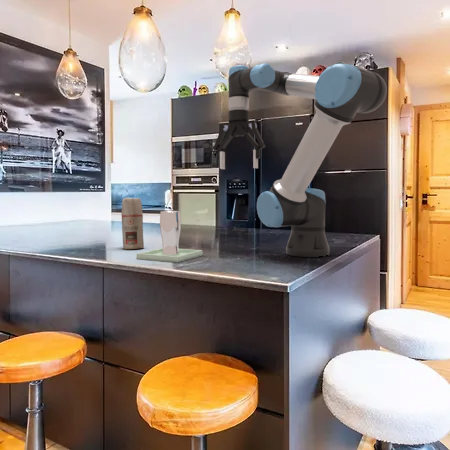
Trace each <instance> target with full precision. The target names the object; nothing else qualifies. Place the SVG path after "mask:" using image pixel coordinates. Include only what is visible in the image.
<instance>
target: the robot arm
mask: <svg viewBox="0 0 450 450" xmlns="http://www.w3.org/2000/svg"><path fill="white" fill-rule="evenodd" d="M227 80H228V83H227V84H228V110H229V111H228V124H227V125H226V124H225V125H224V124H221V125H220V129H219V130H220V131H219V132H218V135H217V137H216V141H215V142H214V145H213V148H212V149H213V150H214V151H216V152H217V160H218V161H219V169H221V170H226V164H225V163H226V152H225V151H224V150H225V149H226V147H227V146H228V145H229V143H230V142H231V140H232V139H234V137H246V139H247V140H248V141H249V143H250V144H251V145H252V146H253V148H254V149H252V151H253V152H252V153H253V156H252V158H253V159H252V162H253V167H252V169H259V159H261V150H262V149H265V148H266V144H265V142H264V139H263V138H262V135H261V133H260V131H259V129H258V123H257V122H254V121H252V122H251V123H249V122H250V111H249V110H250V92H252V91H257V90H260V91H264V92H268V93H269V92H270V93H275V94H280V95H283V96H292V97H298V98H305V99H310V100H315V102H314V106H313V107H314V109H315V114H314V116H313V117H312V119H311V122H310V124H309V126H308V127H307V129H306V131H305V133H304V135H303V137H302V139H301V141H300V143H299V144H298V146H297V148H296V150H295V152H294V154H293V156H292V157H291V160H290V162H289V163H288V165H287V167H286V169H285V171H284V173H283V175H282V177H281V178H280V179H277V180H275V181H274V182H273V183H272V186H271V187H270V189H269V190H267V191H263V192H262V193H260V195H259V196H258V197H257V199H256V200H257V201H256V212H257V215H258V218H259V220H260V222H261V223H262V224H263V225H264V226H266V227H269V228H281V227H290V229H291V230H290V235H289V237H288V241H287V244H286V247H285V254H286V255H288V256H291V257H292V256H293V257H298V258H299V257H301V258H320V257H319V256H323V257H327V256H326V255H328V256H330V246H329V243H328V239H327V236H326V229H325V228H326V204H327V200H326V193H325V191H324V190H322V189H318V188H311V187H310V188H309V186H310V184H311V182H312V181H313V179H314V177H315V175H316V174H317V172H318V170H319V168H320V166H321V165H322V163H323V161H324V159H325V158H326V156H327V154H328V153H329V151H330V149H331V147H332V146H333V144H334V142H335V140H336V139H337V137H338V135H339V134H340V131H341V130H342V128H343V126H346V125H350V124H351V123H352V122H353V120H354V118H355V117H356V115H357V113H358V114H369V113H372V112H374V111H376V110H377V109H378V108H380V107H381V106H382V105H383V103H384V102H385V100H386V97H387V92H388V87H387V84H386V81H385V80H384V78H383V77H382V76H381V75H380V74H379V73H377V72H375V71H372V70H367V69H364V68H362V67H358V66H356V65H353V64H348V63H340V62H339V63H335V64H332V65H330V66H328V67H326V69H324V70H323V71H322V72H321V73H320V75H313V74H303V73H292V72H286V71H285V72H284V71H280V70H276V69H274V67H273V66H272V65H271V64H270V63H260V64H256V65H254V66H252V67H250V68H249V67H248V66H246V65H242V64H238V65H232V66H231V67H230V68H229V70H228V78H227ZM250 129H251V130H252V132H253V134H254V137H255V139H256V140H255V139H254V138H253V136H252V135H251V133H250V132H249V130H250ZM227 131H228V133H227ZM226 133H227V134H226ZM225 136H226V137H225Z"/></svg>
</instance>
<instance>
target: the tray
mask: <svg viewBox="0 0 450 450" xmlns="http://www.w3.org/2000/svg"><path fill="white" fill-rule="evenodd" d="M162 249H163V247H161V248H156V249H151V250H148V251H142V252H138V253H136V260H144V261H153V262H166V263H176V264H178V263H181V261H182V262H184V261H188V260H193V259H195V258H198V257H203V254H204V253H203V250H201V249H190V248H189V249H186V248H179V253H180V255H179V256H165V255H162Z"/></svg>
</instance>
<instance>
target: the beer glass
mask: <svg viewBox="0 0 450 450" xmlns="http://www.w3.org/2000/svg"><path fill="white" fill-rule="evenodd" d="M181 219H182V218H181V211H180V210H163V211H162V210H161V211H160V215H159V228H160V234H161V242H162V248H163V249H162V255H165V256H179V255H180V253H179V249H180V247H179V242H180V241H179V240H180V236H181V235H180V234H181V227H182V226H181V225H182V222H181Z"/></svg>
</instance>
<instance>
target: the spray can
mask: <svg viewBox="0 0 450 450" xmlns="http://www.w3.org/2000/svg"><path fill="white" fill-rule="evenodd" d="M143 214H144V213H143V204H142V199H141V198H140V197H124V198H122V200H121V233H122V245H123V248H122V249H123V250H137V249H143V248H144V247H145V246H144V226H143V225H144V220H143V219H144V215H143Z"/></svg>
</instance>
